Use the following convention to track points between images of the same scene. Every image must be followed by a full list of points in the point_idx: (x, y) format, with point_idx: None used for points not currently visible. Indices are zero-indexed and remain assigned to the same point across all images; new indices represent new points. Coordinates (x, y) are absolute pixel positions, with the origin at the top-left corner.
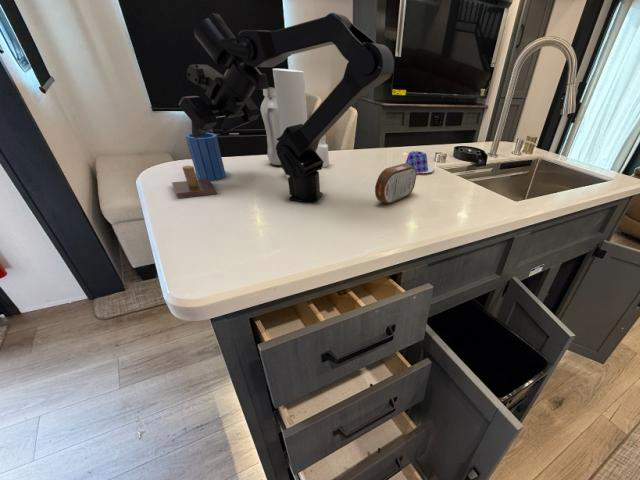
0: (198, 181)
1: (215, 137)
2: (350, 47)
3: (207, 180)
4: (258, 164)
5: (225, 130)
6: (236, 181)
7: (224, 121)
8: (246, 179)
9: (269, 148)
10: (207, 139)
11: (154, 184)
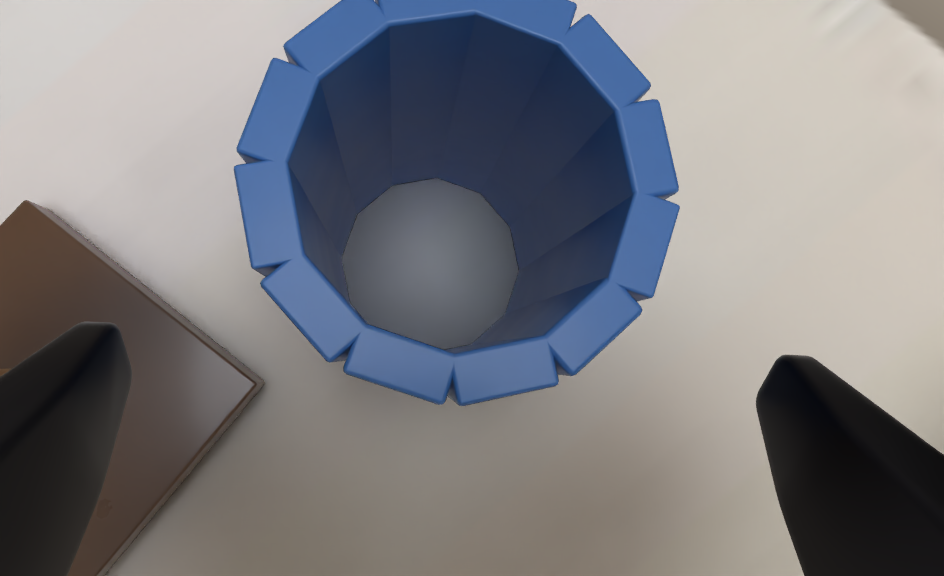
0: (152, 365)
1: (531, 388)
2: None
3: (215, 407)
4: (913, 365)
5: (771, 439)
6: (429, 523)
7: (886, 481)
8: (517, 558)
9: None
10: (365, 378)
11: (38, 41)
